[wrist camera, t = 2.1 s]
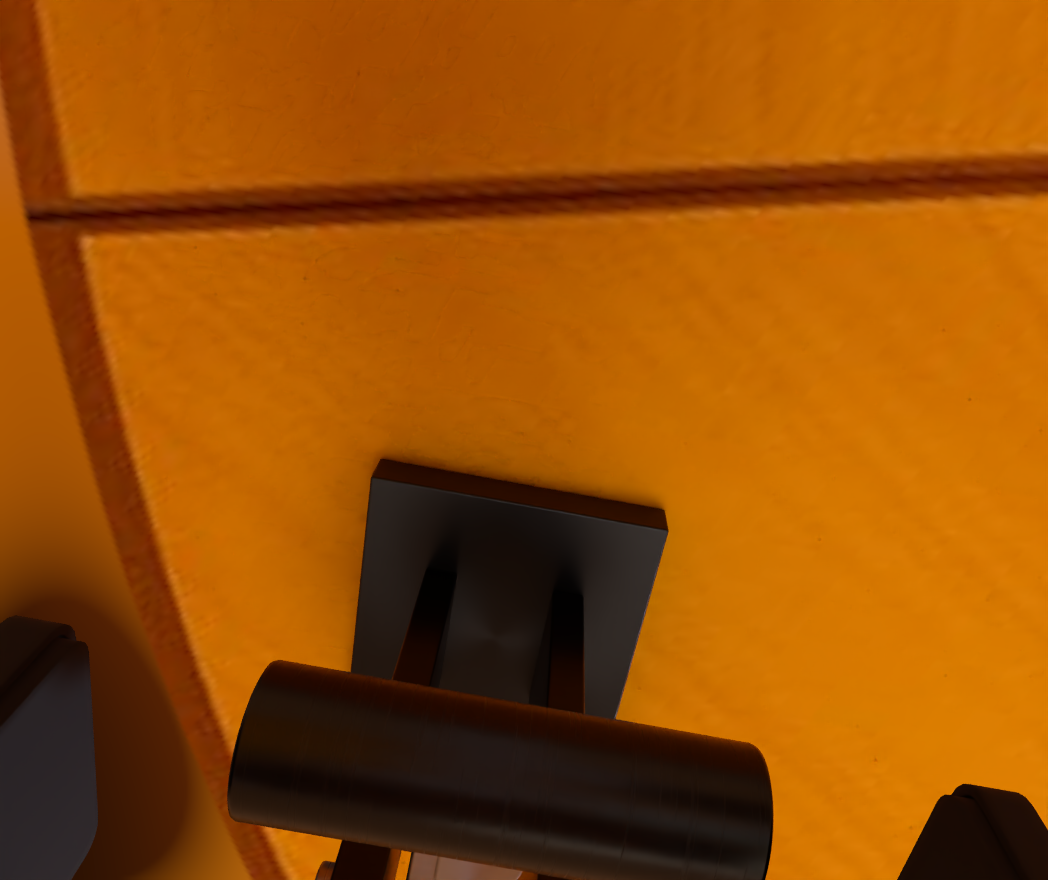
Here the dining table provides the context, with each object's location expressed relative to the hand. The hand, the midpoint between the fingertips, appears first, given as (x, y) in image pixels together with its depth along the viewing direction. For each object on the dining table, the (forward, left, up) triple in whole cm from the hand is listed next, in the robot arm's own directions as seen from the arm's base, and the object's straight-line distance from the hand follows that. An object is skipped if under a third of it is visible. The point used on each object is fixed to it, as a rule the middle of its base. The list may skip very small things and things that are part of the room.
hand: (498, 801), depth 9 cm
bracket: (+7, -6, -16) cm, 19 cm away
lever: (+3, -3, -4) cm, 6 cm away
